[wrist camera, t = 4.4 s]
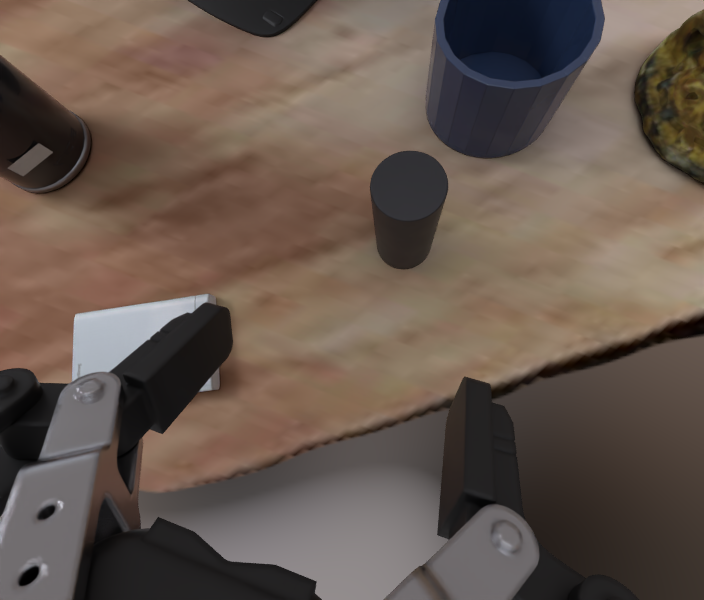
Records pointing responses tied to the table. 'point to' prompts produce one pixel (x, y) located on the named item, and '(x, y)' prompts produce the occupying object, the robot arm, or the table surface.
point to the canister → (407, 206)
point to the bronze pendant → (676, 97)
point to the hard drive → (126, 333)
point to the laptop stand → (257, 13)
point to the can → (505, 69)
